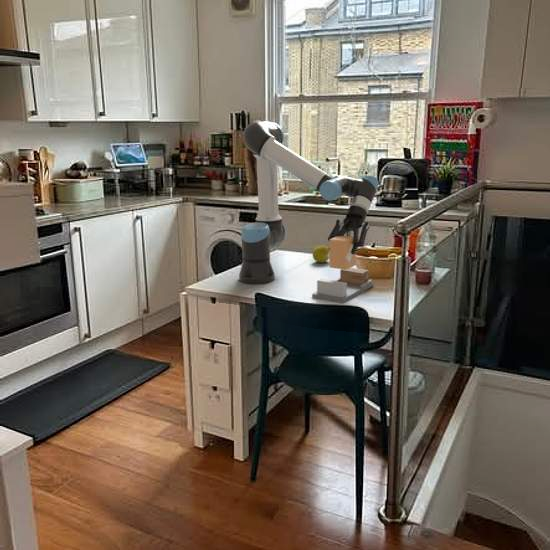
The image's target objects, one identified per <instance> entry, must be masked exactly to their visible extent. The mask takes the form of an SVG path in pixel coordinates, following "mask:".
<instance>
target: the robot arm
mask: <svg viewBox="0 0 550 550" xmlns="http://www.w3.org/2000/svg"><path fill="white" fill-rule="evenodd" d="M284 135H285V134H284V131H283V129H282V127H281V126H280V125H279V124H277V122H273V121H268V120H267V121H253V122H251V123H249V124H248V125H247V126H246V127H245V128H244V131H243V132H242V141H243V144H244V145H245V147H246V148H247V149H248V150H249V151H250V152H252V155H253V157H254V158H255V159H256V171H257V175H256V176H257V196H258V197H257V198H258V199H257V200H258V215H257V217H256V218H255V222H252V223H248V224H245V225H244V226H243V227H242V228H241V249H242V250H241V252H242V254H241V255H242V257H241V258H242V263H241V268H240V271H239V273H238V278H239V281H240V282H241V283H244V284H249V285H262V284H268V283H271V282H273V281H274V280H276V279H275V276H276V275H275V271H274V268H273V266H272V263H271V250H272V249H274V248H278V247H279V246H280V245H281V244H282V243H283V242H284V241H285V240H286V237H287V228H286V226H285V225H284V223H283V217H282V216H281V215H280V214H279V213H280V212H279V189H278V188H279V187H278V186H279V185H278V167H280V168H281V169H283V170H284V171H286V172H288V173H289V174H290V175H292V176H294V177H295V178H297V179H298V180H300V181H301V182H302V183H304V184H306V185H308V186H309V187H311V188H312V189H313V190H315V191H317V192H318V193H319V194H320V196H321V197H322V199H324V200H325V201H334V200H337V199H339V198H341V197H343V196H345V197H350V198H352V200H351V202H350V205H349V208H348V209H347V212H346V215H345V218H343V220H340V219H336V220H335V224H334V227H333V229H332V230H331V232H330V234H329V236H328V238H327V241H328V242H329V243H330V239H332V238H334V237H337V236H346V234H347V233H349V232H352V233H353V234H352V235H353V236H352V237H354V243H353V244H354V245H353V244H351V246H350V248H349V251H348V253H347V256H346V258H345V259H346V260H347V262H349V263H350V260H351V258H352V255H353V254H355V253H356V254H357V250H358V249H359V248H363V247H364V245H365V241H366V237H367V234H368V230H369V229H370V228H371V226H370V224H369V222H368V221H366V222H365V220H366V218H367V217H368V216H367V215H368V213H369V211H370V207H371V205H372V203H373V200H374V198H375V196H376V193H377V192H378V191H377V190H378V187H379V185H380V182H379V180H378V179H377V177H375V176H373V175H372V174H364V175H363V176H362V177H361V178H360V179H359V178H355V177H354V178H353V177H349V176H345V175H341V174H331V175H329V174H328V173H327V172H325V171H323V170H322V169H321V168H319V167H317V166H316V165H314V164H312V162H310V161H308V160H307V159H305V158H303V157H302V156H301V155H299V154H297V153H295V152H294V151H292V150H291V149H289V148H288V147H286V146H285V145H283V143H284V139H285V136H284ZM360 228H361V231H360ZM359 233H360V234H359ZM328 248H329V253H328V256H327V257H328V258H329V259H328V260H329V261H330V245H329V246H328Z"/></svg>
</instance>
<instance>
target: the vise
mask: <svg viewBox="0 0 550 550" xmlns="http://www.w3.org/2000/svg"><path fill="white" fill-rule="evenodd" d="M373 286H374V282H373V279H368V281H367V282H365V283H363V284H361V285H358V284H352V283H346V282H340V277H339V278H337V279H335V280H332V279H326V278H319V279H317V281H316V291H315V292H313V293H311V298H313V299H316V300H317V299H318V300H322V301H323V300H324V301H327V300H328V301H329V302H333V303H339V304H344V303H346V302H348V301H349V300H351V299H353V298H355V297H356V296H357V295H359V294H361V293H362V292H365V291H367V290H369V288H372V287H373Z"/></svg>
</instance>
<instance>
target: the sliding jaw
mask: <svg viewBox="0 0 550 550" xmlns="http://www.w3.org/2000/svg"><path fill="white" fill-rule="evenodd" d="M339 270H340V271H339V274H340V276H339V278H340V282H346V283H352V284H358V285H361V284H363V283H365V282H367V281H369V270H368V269H362V268H355V267H351V268H349V269H347V270H344V269H339Z"/></svg>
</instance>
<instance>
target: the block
mask: <svg viewBox="0 0 550 550" xmlns="http://www.w3.org/2000/svg"><path fill="white" fill-rule="evenodd" d="M353 243H354V237H353V236H349V235H348V236H347V235H344V236H337V237H334V238H332V239H330V242H329V246H330V260H329V268H330V269H339V270H341V269H344V270H347V269H349V268H354V267H355V266H356V265H357V264H356V261H357V252H356V253H355V254H353V255H352V258H351V260H350V263H349V262H347V260H346V259H345V258H346V256H347V253H348V251H349V248H350V246H351V244H353ZM353 245H354V244H353Z"/></svg>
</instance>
